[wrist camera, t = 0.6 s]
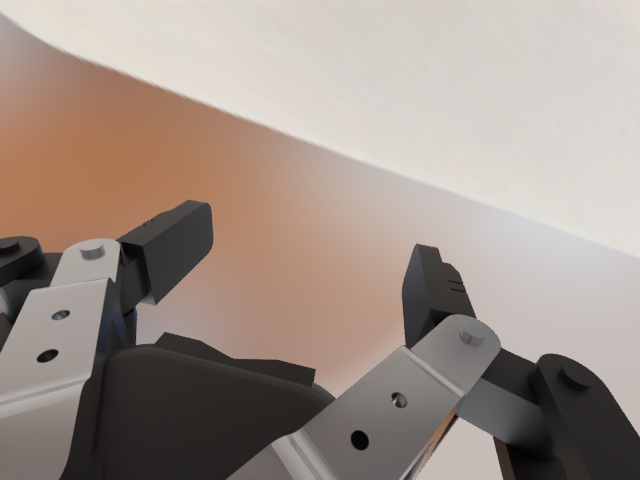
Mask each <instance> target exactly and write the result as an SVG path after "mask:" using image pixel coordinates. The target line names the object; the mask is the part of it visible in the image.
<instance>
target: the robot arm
mask: <svg viewBox="0 0 640 480" xmlns="http://www.w3.org/2000/svg"><path fill="white" fill-rule="evenodd" d="M212 245H213V227H212V214H211V207H210V205H209V204H208V203H204V202H198V201H194V200H187V201H186V202H184V203H182V204H180V205H179V206H177V207H176V208H174V209H172V210H169V211H166V212H163V213H160V214H158V215H157V216H155V217H153V218H152V219H151V220H150V221H149V220H148V221H147V222H145V223H143V224H142V226H138V227H137V228H135V229H133V230H132V231H130V232H129V233H127V234H125V235H123V236H122V237H120V238H119V239H117V240H111V239H91V240H86V241H82V242H80V243H77V244H74V245H72V246H71V247H69V248H68V249H66V250H65V252H64V253H43V251H42V249H41V246H40V244H39V241H38V240H37V239H35V238H32V237H26V236H18V237H9V238H3V239H0V307H1V309H2V311H3V312H2V313H0V480H415V479H416V478H417V476H418V475H419V473H420V472H421V470H422V469H423V467H424V466H425V464H426V463H427V461H428V460H429V459H430V457H431V456H432V454H433V453H434V452H435V450H436V449H437V447H438V446H439V445H440V443H441V442H442V440H443V439H444V437H445V436H446V435H447V434H448V432H449V431H450V429H451V428H452V427H453V425H454V424H455V422H456V421H457V420H458V418H459V417H460V418H462V419H464V420H466V421H468V422H469V423H471V424H473V425H475V426H477V427H478V428H480V429H482V430H484V431H486V432H488V433H489V434H491V435H493V439H494V443H495V447H496V452H497V455H498V460H499V464H500V468H501V472H502V476H503V480H640V437H639V435H638V434H637V432H636V431H635V429H634V428H633V426H632V424H631V423H630V421H629V420H628V418H627V417H626V416H625V414H624V412H623V411H622V409H621V408H620V406H619V405H618V403H617V402H616V400H615V399H614V397H613V395H612V394H611V392H610V391H609V389H608V388H607V387H606V385H605V384H604V383H603V382H602V380H600V379H599V378H598V377H597V376H596V375H595V374H594V373H593V372H592V371H590V370H589V369H588V368H586V367H585V366H583V365H582V364H580V363H578V362H576V361H574V360H572V359H570V358H568V357H565V356H562V355H558V354H545V355H543V356H541V357H540V359H539V360H538V361H537V363H536V364H535V363H533V362H531V361H529V360H526V359H524V358H522V357H519V356H517V355H515V354H513V353H511V352H509V351H507V350H505V349H503V348H501V343H500V340H499V338H498V337H497V335H496V334H495V332H494V331H493V330H492V329H491V328H490V327H488V326H487V325H486V324H484V323H483V322H481V321H479V320H477V318H476V316H475V313H474V310H473V308H472V305H471V303H470V300H469V297H468V295H467V293H466V289H465V287H464V285H463V281H462V279H461V276H460V273H459V272H458V271H457V270H456V269H455V268H454V267H453V266H452V265H451V264H448V263H443V262H442V259H441V256H440V253H439V250H438V248H436V247H431V246H426V245H420V244H416V245H415V247H414V249H413V252H412V255H411V259H410V262H409V265H408V268H407V271H406V274H405V277H404V282H403V286H402V303H403V316H404V330H405V341H406V346H405V345H402V346H400V347H398V348H397V349H396V350H395V351H393V352H392V353H391V354H390V355H389V356H387V357H386V358H385V359H384V360H383V361H381V362H380V363H379V364H378V365H377V366H375V367H374V368H373V369H372V370H371V371H369V372H368V373H367V374H366V375H365V376H363V377H362V378H361V379H360V380H359V381H357V382H356V383H355V384H354V385H353V386H351V387H350V388H349V389H348V390H346V391H345V392H344V393H343V394H342V395H340V396H339V397H338V398H337V399H336V398H335V397H333V396H332V395H331V394H330V393H329V392H328V391H326V390H325V389H324V388H322V387H321V386H319V385H317V384H316V383H314V377H315V370H316V369H312V368H308V367H304V366H300V365H296V364H292V363H288V362H284V361H280V360H261V359H233V358H231V357H229V356H227V355H225V354H223V353H221V352H220V351H218V350H216V349H214V348H212V347H211V346H209V345H207V344H205V343H203V342H201V341H199V340H195V339H191V338H187V337H183V336H178V335H175V334H171V333H167V332H164V334H163V335H162V336H161V337H160V338H159V339H158V340H157V341H156V343H155V344H141V345H136V333H137V310H136V305H137V304H138V303H139V302H142V303H147V304H151V305H156V304H157V303H158V302H159V301H160V300H161V299H163V297H164V296H166V295H167V294H168V293H169V292H170V291H171V290H172V289H173V288H174V287H175V286H176V285H177V284H178V283H179V282H180V281H181V280H182V279H183V278H184V277H185V276H186V275H187V274H188V273H189V272H190V271H191V270H192V269H193V268H194V267H195V266H196V265H197V264H198V263H199V262H200V261H201V260H202V259H203V258H204V257H205V256H206V255H207V254H208V253H209V251H210V250H211V248H212Z"/></svg>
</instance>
